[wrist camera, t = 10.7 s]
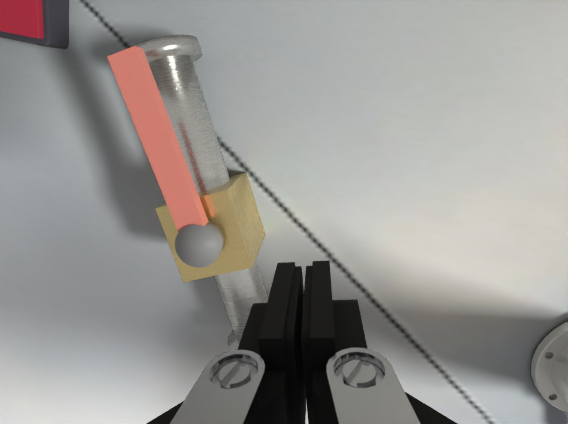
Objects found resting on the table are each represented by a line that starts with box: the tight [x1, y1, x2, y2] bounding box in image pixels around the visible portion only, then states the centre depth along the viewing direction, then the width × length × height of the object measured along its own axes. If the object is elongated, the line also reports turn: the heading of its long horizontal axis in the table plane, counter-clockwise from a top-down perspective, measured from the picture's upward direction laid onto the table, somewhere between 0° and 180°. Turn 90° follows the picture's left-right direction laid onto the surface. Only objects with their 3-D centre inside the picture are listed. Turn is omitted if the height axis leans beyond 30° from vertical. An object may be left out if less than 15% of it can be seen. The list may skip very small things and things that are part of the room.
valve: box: [135, 35, 268, 351], centre depth 33 cm, size 30×6×8 cm, turn 15°
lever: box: [107, 46, 224, 268], centre depth 27 cm, size 17×4×2 cm, turn 17°
